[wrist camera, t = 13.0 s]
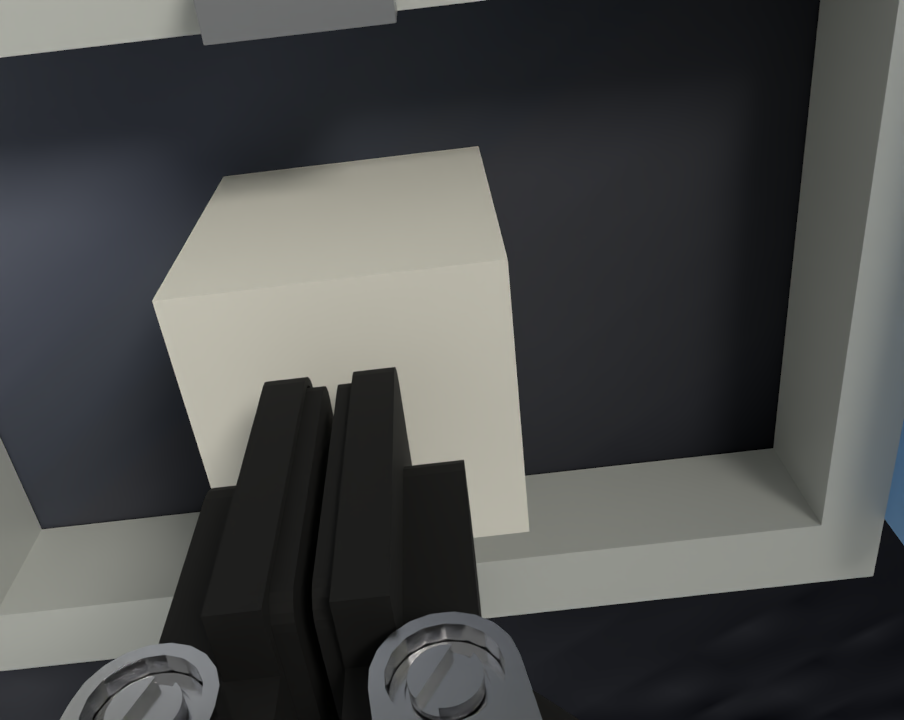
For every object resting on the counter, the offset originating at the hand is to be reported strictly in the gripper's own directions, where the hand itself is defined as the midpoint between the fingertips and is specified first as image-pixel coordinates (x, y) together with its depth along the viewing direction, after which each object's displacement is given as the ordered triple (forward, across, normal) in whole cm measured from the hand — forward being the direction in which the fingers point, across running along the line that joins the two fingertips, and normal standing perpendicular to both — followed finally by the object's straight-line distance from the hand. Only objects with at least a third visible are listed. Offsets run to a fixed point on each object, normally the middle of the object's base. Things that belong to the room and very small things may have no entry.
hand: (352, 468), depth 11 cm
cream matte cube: (+6, 0, 0) cm, 6 cm away
